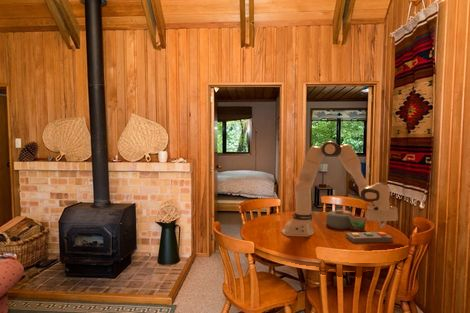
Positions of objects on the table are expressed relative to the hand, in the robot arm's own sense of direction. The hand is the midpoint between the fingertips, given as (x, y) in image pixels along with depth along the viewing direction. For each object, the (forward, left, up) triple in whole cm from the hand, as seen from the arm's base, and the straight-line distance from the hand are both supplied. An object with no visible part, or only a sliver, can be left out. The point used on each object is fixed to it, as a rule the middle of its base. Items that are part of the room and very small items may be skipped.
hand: (381, 227), depth 196 cm
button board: (-9, 0, -8) cm, 12 cm away
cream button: (-18, 0, -6) cm, 19 cm away
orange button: (0, 0, -6) cm, 6 cm away
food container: (-7, +20, -8) cm, 23 cm away
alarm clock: (-15, +34, -8) cm, 38 cm away
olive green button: (-9, 0, -6) cm, 11 cm away
